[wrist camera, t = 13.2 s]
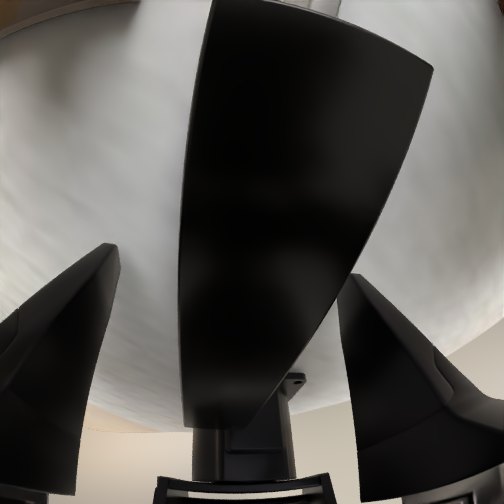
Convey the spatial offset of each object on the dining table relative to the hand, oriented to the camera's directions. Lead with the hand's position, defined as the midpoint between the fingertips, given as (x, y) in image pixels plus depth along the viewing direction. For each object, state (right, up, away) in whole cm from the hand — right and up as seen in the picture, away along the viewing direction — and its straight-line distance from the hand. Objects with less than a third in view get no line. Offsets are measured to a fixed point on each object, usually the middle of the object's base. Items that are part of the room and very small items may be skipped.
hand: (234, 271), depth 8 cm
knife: (+1, +4, -2) cm, 5 cm away
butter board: (-9, +12, -9) cm, 17 cm away
